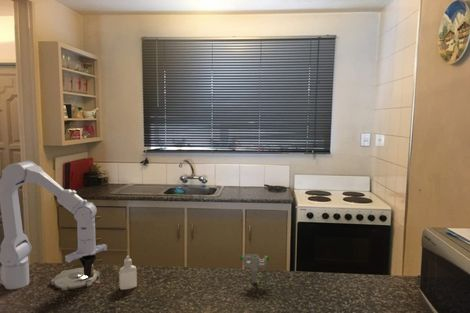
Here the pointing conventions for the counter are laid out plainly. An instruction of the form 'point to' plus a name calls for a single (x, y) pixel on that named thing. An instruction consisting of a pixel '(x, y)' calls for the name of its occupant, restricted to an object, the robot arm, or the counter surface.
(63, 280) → the tabbed shallow bowl
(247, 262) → the mechanical component
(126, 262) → the eye dropper bottle
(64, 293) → the counter surface
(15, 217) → the robot arm
